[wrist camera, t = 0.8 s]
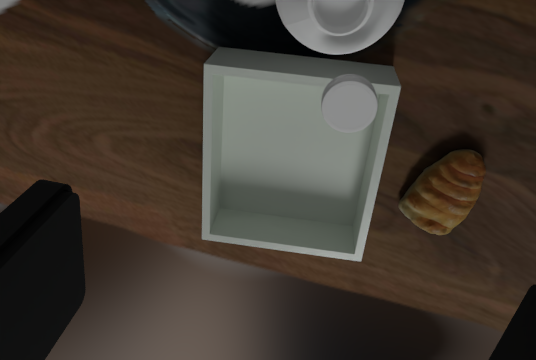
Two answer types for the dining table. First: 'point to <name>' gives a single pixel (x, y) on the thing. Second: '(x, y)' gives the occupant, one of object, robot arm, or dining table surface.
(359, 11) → the water bottle
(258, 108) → the bin
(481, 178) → the pastry
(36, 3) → the dining table surface
